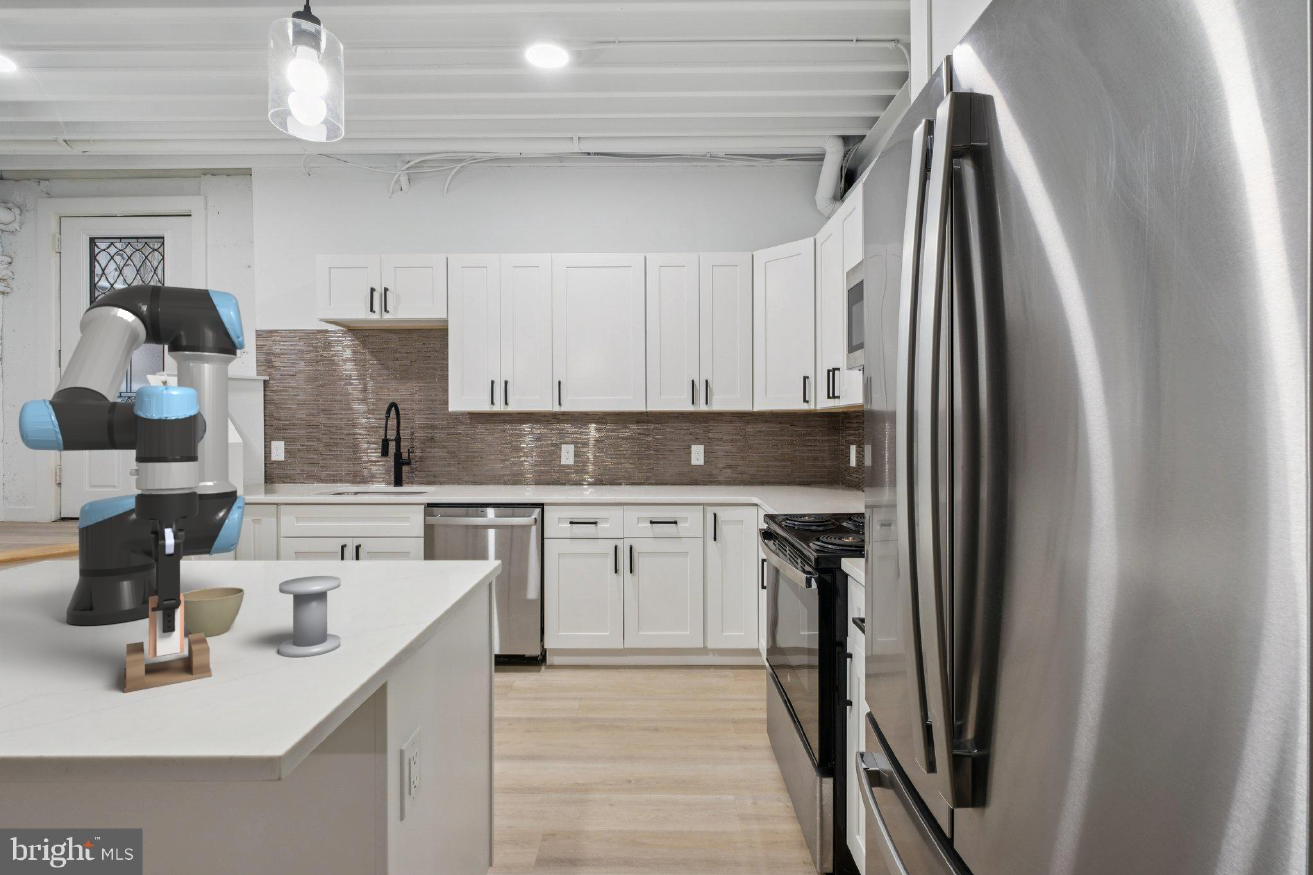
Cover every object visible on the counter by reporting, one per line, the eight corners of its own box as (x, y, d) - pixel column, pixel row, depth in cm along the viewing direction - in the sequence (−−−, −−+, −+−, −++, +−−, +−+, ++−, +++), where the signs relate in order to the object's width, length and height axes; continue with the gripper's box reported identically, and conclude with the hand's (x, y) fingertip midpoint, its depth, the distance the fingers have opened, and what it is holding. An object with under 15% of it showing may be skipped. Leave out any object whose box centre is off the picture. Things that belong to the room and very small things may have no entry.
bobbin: (274, 646, 110) (274, 580, 110) (333, 636, 115) (333, 573, 115) (284, 661, 103) (284, 590, 103) (346, 649, 108) (346, 582, 108)
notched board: (124, 672, 98) (124, 644, 98) (205, 657, 104) (205, 631, 104) (124, 692, 90) (123, 662, 90) (211, 676, 96) (211, 648, 96)
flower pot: (210, 643, 111) (210, 601, 111) (161, 639, 113) (161, 598, 113) (257, 626, 121) (257, 587, 121) (211, 623, 123) (211, 585, 123)
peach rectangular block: (182, 645, 100) (182, 592, 100) (183, 652, 97) (184, 597, 97) (148, 650, 97) (149, 596, 97) (149, 657, 94) (149, 602, 94)
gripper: (134, 488, 101) (134, 640, 101) (135, 496, 88) (135, 671, 88) (193, 486, 106) (194, 631, 106) (203, 493, 93) (203, 659, 93)
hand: (167, 649), depth 97 cm, fingers closed on peach rectangular block, 4 cm apart
